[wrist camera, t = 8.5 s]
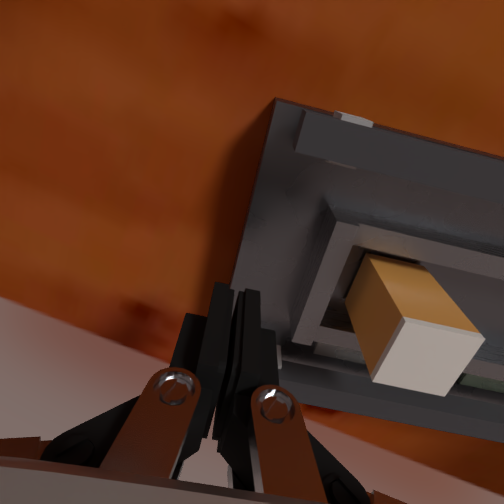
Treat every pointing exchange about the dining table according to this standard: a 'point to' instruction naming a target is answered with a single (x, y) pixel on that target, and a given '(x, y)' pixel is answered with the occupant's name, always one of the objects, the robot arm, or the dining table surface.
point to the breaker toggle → (409, 326)
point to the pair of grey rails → (420, 171)
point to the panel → (364, 252)
